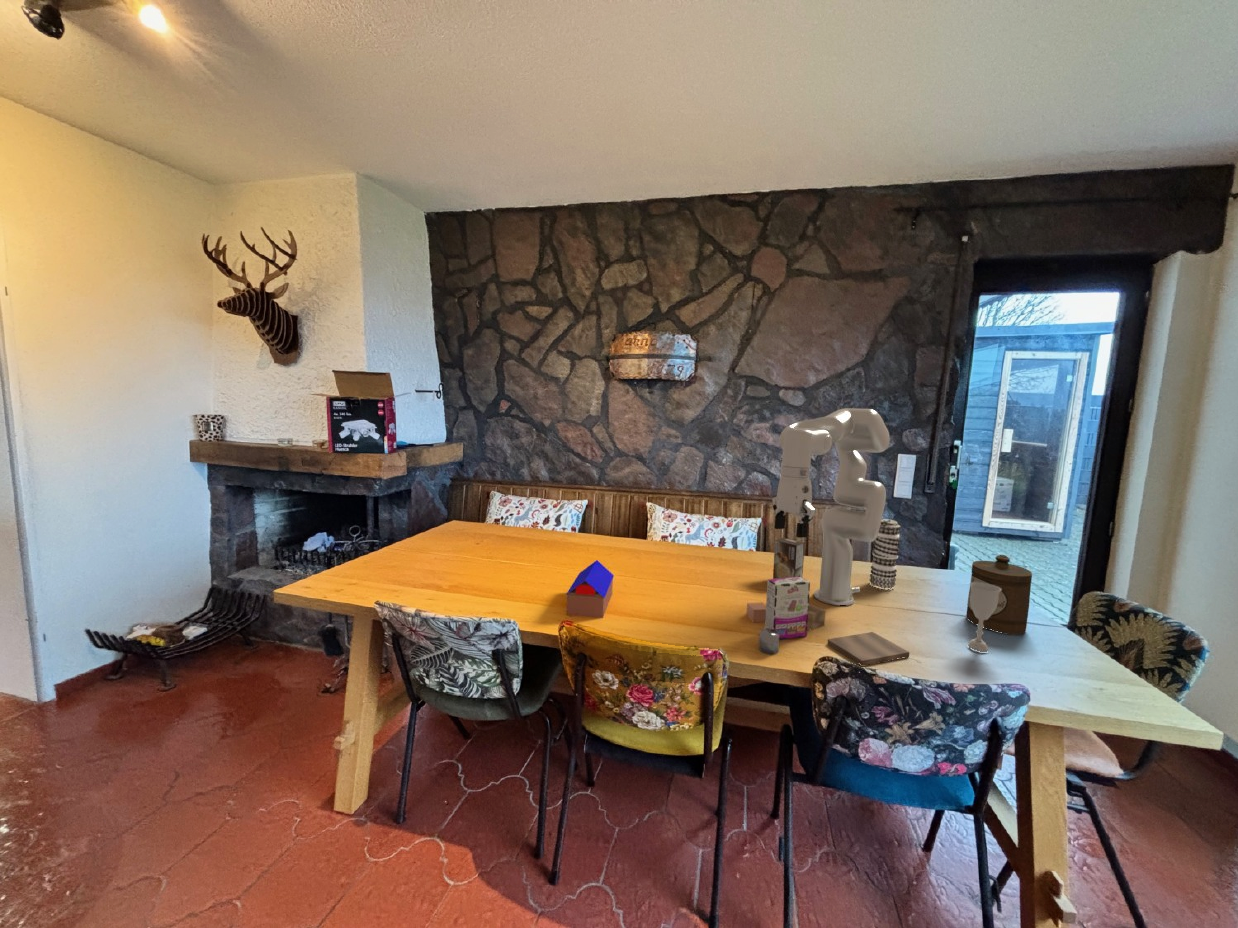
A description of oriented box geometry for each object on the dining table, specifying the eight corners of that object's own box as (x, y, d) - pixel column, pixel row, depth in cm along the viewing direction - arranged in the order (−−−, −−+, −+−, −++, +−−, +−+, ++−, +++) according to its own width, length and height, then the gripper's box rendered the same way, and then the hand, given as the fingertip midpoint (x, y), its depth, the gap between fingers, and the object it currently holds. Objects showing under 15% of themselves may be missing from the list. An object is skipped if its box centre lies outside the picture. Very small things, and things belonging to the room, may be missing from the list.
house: (613, 594, 169) (614, 561, 167) (603, 619, 149) (604, 582, 147) (579, 591, 170) (579, 558, 169) (565, 615, 150) (565, 579, 149)
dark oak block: (806, 618, 153) (808, 603, 152) (824, 625, 148) (825, 610, 148) (794, 622, 150) (795, 607, 149) (812, 630, 145) (813, 614, 144)
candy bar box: (796, 629, 145) (800, 575, 143) (807, 637, 140) (811, 581, 138) (763, 632, 142) (766, 578, 140) (772, 641, 137) (776, 584, 135)
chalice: (981, 643, 140) (988, 582, 137) (1000, 655, 133) (1008, 591, 131) (955, 642, 139) (963, 581, 137) (973, 655, 133) (981, 591, 130)
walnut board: (872, 636, 142) (872, 631, 141) (908, 657, 130) (909, 651, 130) (827, 644, 136) (827, 639, 136) (861, 666, 125) (862, 660, 125)
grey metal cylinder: (770, 644, 135) (771, 627, 135) (782, 653, 131) (783, 635, 130) (754, 646, 134) (756, 629, 133) (766, 655, 129) (767, 637, 129)
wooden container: (954, 614, 159) (962, 548, 157) (997, 613, 160) (1005, 548, 158) (992, 635, 145) (1001, 563, 142) (1039, 635, 146) (1049, 563, 143)
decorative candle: (871, 589, 179) (878, 522, 176) (865, 580, 188) (871, 516, 185) (899, 592, 177) (906, 524, 174) (891, 583, 186) (898, 518, 183)
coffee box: (803, 584, 182) (806, 542, 180) (794, 588, 178) (797, 545, 176) (780, 577, 189) (783, 537, 187) (771, 581, 184) (774, 539, 182)
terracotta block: (761, 614, 155) (762, 602, 154) (768, 621, 150) (769, 609, 150) (746, 615, 154) (747, 603, 154) (753, 622, 149) (753, 609, 149)
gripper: (828, 477, 131) (822, 540, 132) (786, 469, 147) (782, 525, 149) (804, 477, 128) (799, 541, 130) (765, 469, 144) (760, 526, 146)
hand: (790, 532), depth 139 cm, fingers open, 9 cm apart
